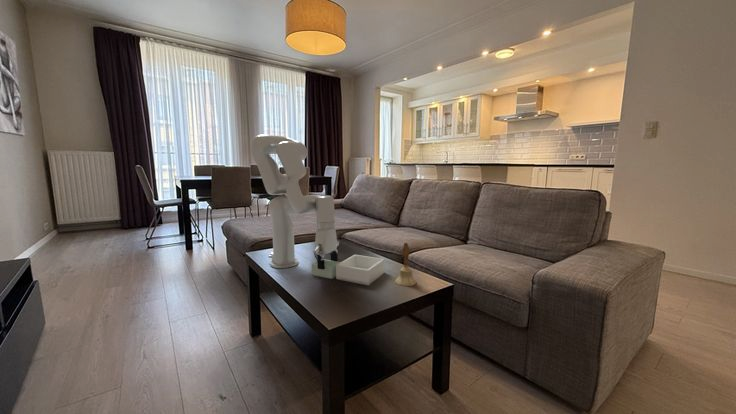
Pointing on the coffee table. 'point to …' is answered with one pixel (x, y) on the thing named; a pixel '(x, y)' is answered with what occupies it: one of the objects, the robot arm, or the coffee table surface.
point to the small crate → (328, 271)
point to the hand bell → (405, 270)
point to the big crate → (360, 269)
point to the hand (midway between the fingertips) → (328, 265)
